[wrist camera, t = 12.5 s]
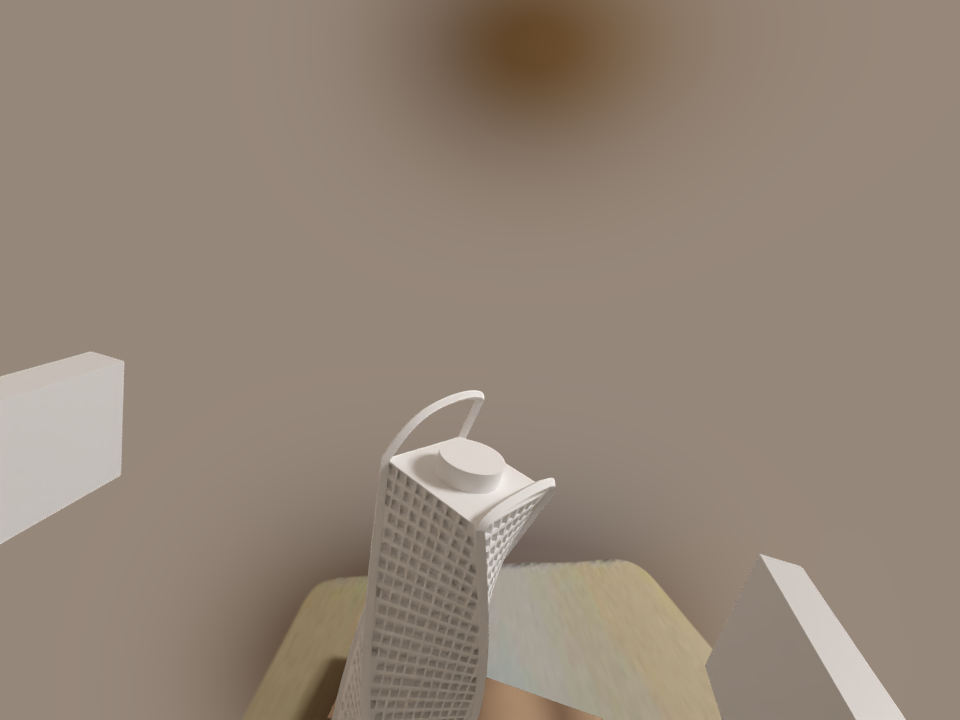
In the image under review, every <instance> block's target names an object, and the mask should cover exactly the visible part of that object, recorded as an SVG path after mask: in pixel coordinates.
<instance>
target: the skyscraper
mask: <svg viewBox="0 0 960 720" xmlns="http://www.w3.org/2000/svg"><path fill="white" fill-rule="evenodd" d="M469 399H470V400H471V399H472V400H475V402H474V404H473V406H472V408H471V410H470V412H469V414H468V416H467V418H466V420H465V422H464V424H463V426H462V428H461V430H460V432H459V434H458V436H457V437H456V438H454V439H451V440H447V441H444V442H440V443H437V444H434V445H430V446H427V447H424V448H420V449H417V450H414V451H410V452H406V453H403V454H400V455H396V456H393V455H394V454H395V452H396V451H397V449H398V447H399V446H400V445H401V444H402V442H403V441H404V439H405V438H406V437H407V436H408V435H409V433H410V432H411V431H412V430H413V429H414V428H415V427H416V426H417V425H418V424H419V423H420V422H421V421H422V420H423V419H425V418H426V417H427V416H429V415H430V414H432V413H433V412H434V411H436V410H438V409H440V408H442V407H444V406H447V405H449V404H452V403H454V402H459V401H462V400H469ZM483 402H484V394H483V393H482V392H481V391H478V390H469V391H464V392H460V393H456V394H453V395H450V396H448V397H445V398H443V399H441V400H439V401H437V402H435V403H433V404H431V405H429V406H428V407H426V408H424V409H423V410H421V411H420V412H419V413H417V414H416V415H415V416H414V417H413V418H412V419H410V420H409V421H408V423H406V424H405V425H404V426H403V428H402V429H401V430H400V431H399V432H398V434H397V435H396V436H395V438H394V439H393V440H392V442H391V443H390V445H389V446H388V448H387V449H386V451H385V452H384V454H383V455H382V456H381V465H380V473H379V481H378V490H377V498H376V507H375V515H374V524H373V533H372V543H371V552H370V561H369V571H368V572H369V573H368V581H367V593H366V604H365V607H364V609H363V612H362V615H361V617H360V620H359V623H358V626H357V629H356V632H355V635H354V638H353V641H352V644H351V647H350V651H349V654H348V658H347V661H346V665H345V668H344V672H343V675H342V679H341V683H340V687H339V691H338V695H337V699H336V703H335V707H334V712H333V716H332V720H478V717H479V714H480V710H481V705H482V701H483V696H484V690H485V682H486V675H487V661H488V620H489V611H488V610H489V605H490V601H491V597H492V593H493V589H494V586H495V582H496V579H497V576H498V573H499V571H500V568H501V566H502V563H503V561H504V558H505V557H507V555H508V554H509V553H510V551H511V550H512V549H513V547H514V546H515V544H516V543H517V542H518V541H519V539H520V538H521V536H522V535H523V534H524V533H525V531H526V530H527V529H528V527H529V526H530V525H531V524H532V522H533V521H534V520H535V518H536V517H537V516H538V514H539V513H540V512H541V511H542V509H543V508H544V507H545V505H546V504H547V503H548V501H549V500H550V499H551V498H552V496H553V495H554V492H555V489H556V486H555V481H554V479H553V478H547V479H543V480H539V481H537V482H534V481H533V480H531V479H530V478H528V477H526V476H524V475H523V474H522V473H520V472H518V471H517V470H515V469H514V468H512V467H511V466H509V465H507V464H506V463H505V461H504V459H503V457H502V456H501V455H500V454H499V453H498V452H497V451H495V450H494V449H492V448H490V447H489V446H486V445H484V444H482V443H479V442H476V441H471V440H467V439H466V437H467V435H468V433H469V430H470V428H471V427H472V424H473V422H474V420H475V418H476V416H477V414H478V412H479V410H480V408H481V406H482V404H483Z"/></svg>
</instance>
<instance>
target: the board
mask: <svg viewBox="0 0 960 720" xmlns="http://www.w3.org/2000/svg"><path fill="white" fill-rule="evenodd" d="M336 699H337V698H336ZM335 703H336V700H335V702H334V704H333V706H332V709H331V711H330V713H329V715H328V717H327V720H332V716H333V712H334V707H335ZM478 720H603V719H602V718H599V717H596V716H594V715H591V714H588V713H585V712H582V711H579V710H577V709H574V708H571V707H568V706H565V705H563V704H560V703H557V702H554V701H551V700H549V699H546V698H543V697H540V696H537V695H535V694H532V693H529V692H526V691H523V690H520V689H518V688H515V687H512V686H509V685H506V684H504V683H501V682H498V681H495V680H492V679H490V678H487V677H486V682H485V690H484V696H483V701H482V705H481V710H480V714H479V717H478Z"/></svg>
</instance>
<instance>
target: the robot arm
mask: <svg viewBox="0 0 960 720" xmlns="http://www.w3.org/2000/svg"><path fill="white" fill-rule="evenodd" d="M123 385H124V361H121V360H118V359H115V358H112V357H108V356H105V355H102V354H98V353H95V352H92V351H91V352H87V353H84V354H80V355H76V356H73V357H69V358H66V359H62V360H58V361H55V362H51V363H48V364H44V365H40V366H36V367H33V368H29V369H26V370H22V371H19V372H15V373H11V374H8V375H4V376H0V544H1V543H3V542H5V541H6V540H8V539H10V538H12V537H13V536H15V535H17V534H19V533H20V532H22V531H24V530H26V529H27V528H29V527H31V526H33V525H34V524H36V523H38V522H40V521H41V520H43V519H45V518H47V517H48V516H50V515H52V514H54V513H55V512H57V511H59V510H61V509H62V508H64V507H66V506H68V505H69V504H71V503H73V502H75V501H76V500H78V499H80V498H82V497H83V496H85V495H87V494H89V493H90V492H92V491H94V490H96V489H97V488H99V487H101V486H103V485H104V484H106V483H108V482H110V481H111V480H113V479H115V478H117V477H118V476H120V475H121V449H122V419H123V418H122V417H123ZM705 667H706V670H707V673H708V676H709V679H710V683H711V686H712V689H713V692H714V695H715V699H716V702H717V705H718V708H719V711H720V715H721V718H722V720H906V719H905V718H904V716H903V715H902V713H901V712H900V710H899V709H898V707H897V706H896V705H895V703H894V702H893V700H892V699H891V697H890V696H889V694H888V693H887V691H886V690H885V688H884V687H883V686H882V684H881V683H880V681H879V680H878V678H877V677H876V676H875V674H874V672H873V671H872V669H871V668H870V666H869V665H868V663H867V662H866V660H865V659H864V658H863V656H862V655H861V653H860V652H859V650H858V649H857V647H856V646H855V645H854V643H853V642H852V640H851V638H850V637H849V636H848V634H847V633H846V631H845V630H844V628H843V627H842V625H841V624H840V622H839V621H838V620H837V618H836V616H835V615H834V614H833V612H832V611H831V609H830V608H829V606H828V605H827V603H826V602H825V600H824V599H823V597H822V596H821V595H820V593H819V592H818V590H817V589H816V587H815V586H814V584H813V583H812V581H811V580H810V578H809V577H808V575H807V574H806V572H805V571H804V569H803V568H802V567H800V566H798V565H794V564H791V563H788V562H784V561H781V560H778V559H775V558H771V557H768V556H765V555H761V554H759V557H758V559H757V560H756V562H755V565H754V567H753V569H752V571H751V573H750V575H749V577H748V579H747V581H746V583H745V585H744V587H743V589H742V591H741V593H740V596H739V597H738V599H737V601H736V604H735V606H734V608H733V610H732V612H731V614H730V616H729V618H728V620H727V622H726V624H725V626H724V628H723V630H722V632H721V634H720V636H719V638H718V640H717V642H716V644H715V646H714V648H713V650H712V652H711V654H710V656H709V658H708V661H707V663H706V665H705Z"/></svg>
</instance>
